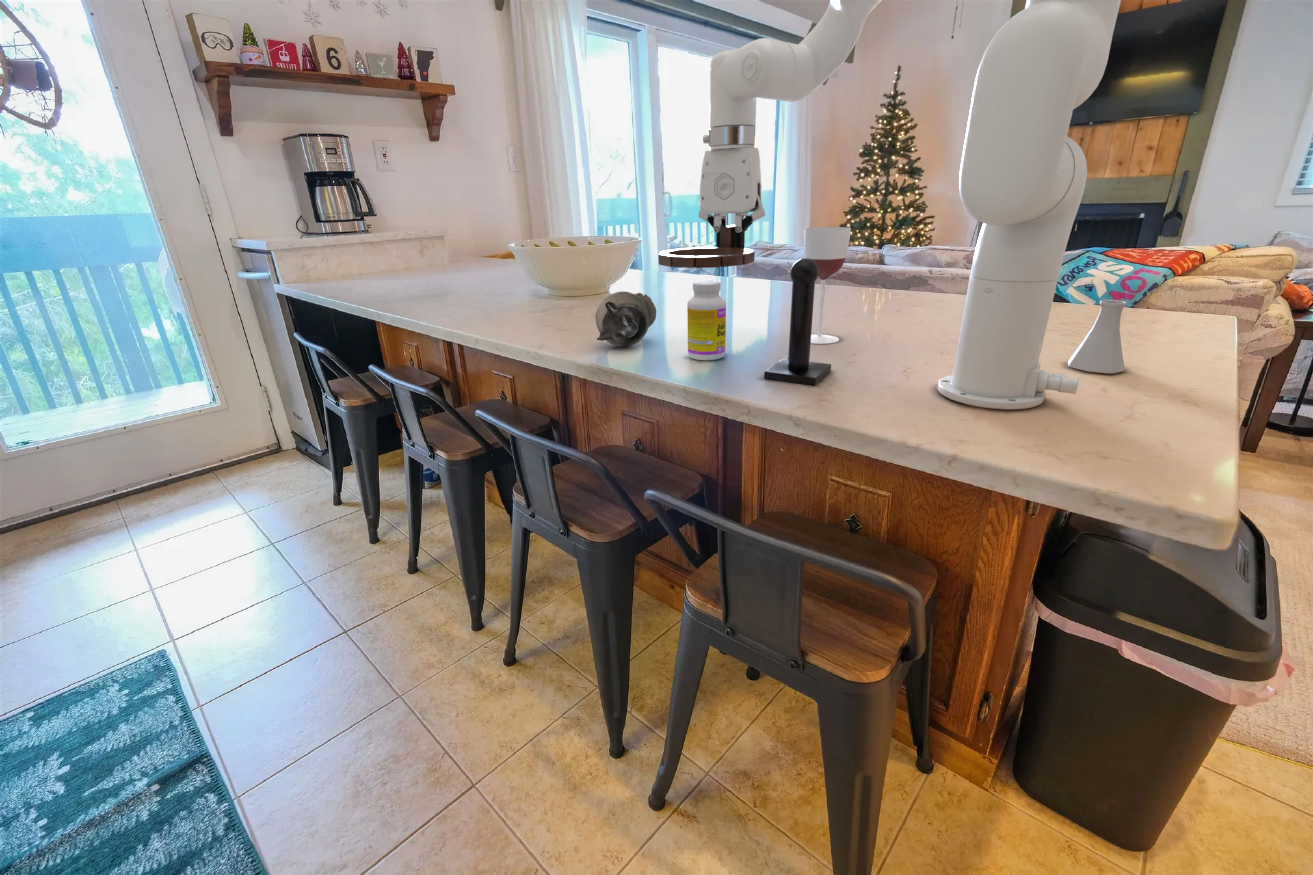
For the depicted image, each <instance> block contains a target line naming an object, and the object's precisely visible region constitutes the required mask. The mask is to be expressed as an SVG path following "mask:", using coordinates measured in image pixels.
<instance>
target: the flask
mask: <svg viewBox="0 0 1313 875" xmlns="http://www.w3.org/2000/svg"><path fill="white" fill-rule="evenodd" d="M1127 305H1128V302H1127V301H1126V300H1120V299H1119V300H1118V299H1102V300H1100V301H1099V306H1100V309H1099V312H1098V315H1097V317H1096V319H1095V322H1094V323H1093V325H1092V327H1091V328H1090V330H1089V331H1088V332H1087V334H1086V336H1085V337H1084V339H1083V340H1082V342H1081V343H1080V344H1079V345H1078V347H1077V348H1076V350H1074V352H1073V354H1072V355H1071V356H1070V358H1069V359H1068V361H1067V366H1068V367H1069V368H1073V369H1077V370H1081V371H1085V372H1091V373H1102V374H1111V375H1112V374H1116V373H1122V372H1125V371H1126V370H1125V362H1124V355H1123V349H1122V339H1121V338H1122V337H1121V318H1122V313H1123V310H1124V308H1125V307H1127Z"/></svg>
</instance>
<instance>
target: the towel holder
mask: <svg viewBox="0 0 1313 875" xmlns="http://www.w3.org/2000/svg"><path fill="white" fill-rule="evenodd" d="M818 273H819V271H818V266H817V265H816V263H815V262H814V261H812V260H811V259H806V258H805V257H804V258H800V259H798V260H796V261H795V262H794V263H793V264H792V266H791V268H790V271H789V274H790V275H789V277H790V280H791V282H792V283H791V284H792V285H791V302H790V319H789V320H790V321H789V335H788V337H789V339H788V353H787V356H788V357H787V358H782V359H780V360H778V361H777V362H776V363H774V364H773V365H772V366H770V367H769V368H767V369H766V370H765V371H764V373H763V379H764V380H769V381H776V382H777V381H778V382H785V383H791V384H792V383H793V384H799V385H805V386H806V385H807V386H814V387H815V386H817V385H818V384H819V383H820V382H821V381H822V380H823V379H824V378H825V377H826V376H828V374H830V373H831V372H832V364H831V363H824V362H815V361H810V358H811V345H812V343H811V335H812V328H813V315H814V314H813V313H814V301H815V300H814V299H815V288H816V281H817V279H818V278H819V277H818Z"/></svg>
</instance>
